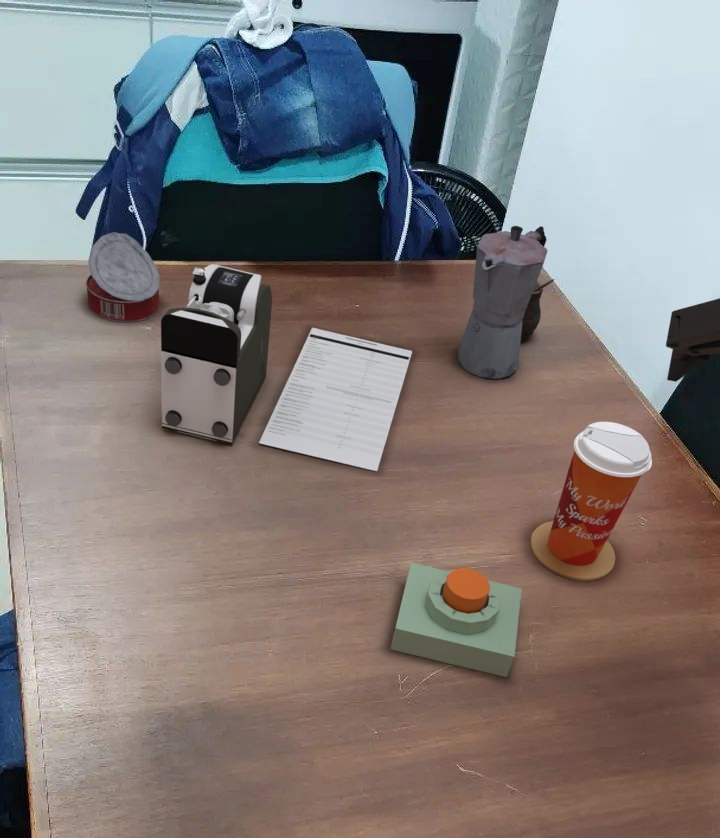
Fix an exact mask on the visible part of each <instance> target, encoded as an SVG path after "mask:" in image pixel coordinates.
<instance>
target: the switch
mask: <svg viewBox="0 0 720 838" xmlns="http://www.w3.org/2000/svg"><path fill="white" fill-rule="evenodd" d="M451 571H452V570H451ZM488 581H489V580H488V578H487V577H486V576H485V575H483V574H482V573H481V572H479V571H477V570H475V569H472V568H467V567H466V568H463V567H462V568H461V567H460V568H457V569H454V571H452V572H451V573H449V575H448V576H447V579H446V582H445V586H444V589H443V599H444V601H445V603H446V604H447V605H448V606H450V607H451V608H452V609H454V610H456V611H459V612H463V613H475V612H478V611H480V610H481V609H482V608H483V607H484V605H485V603H486V600H487V597H488V594H489V591H490V584H489V582H488Z"/></svg>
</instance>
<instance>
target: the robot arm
mask: <svg viewBox="0 0 720 838" xmlns="http://www.w3.org/2000/svg"><path fill="white" fill-rule="evenodd" d="M669 319H670V321H669V325H668V326H669V327H668V331H667V335H666V341H665V347H666V348H668V349H671V350H672V351H671V357H670V362H669V367H668V372H667V378H666V380H667V381H670V382H675V383H676V382H678V381H679V380H681V379H683V378H684V377H686V376H687V375H689V374H690V373H692V372H693V371H695V369H697V368H699V367H700V366H702V365H703V364H705V363H707V362H708V361H709V357H710V355H716V354H720V297H719V298H716V299H712V300H708V301H705V302H701V303H697V304H694V305H693V304H692V305H690V306H686V307H683V308H679V309H675V310H672V312H671V315H670V318H669Z"/></svg>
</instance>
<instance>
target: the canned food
mask: <svg viewBox="0 0 720 838" xmlns="http://www.w3.org/2000/svg"><path fill="white" fill-rule="evenodd" d="M87 263H88V267H89V271H90V275H89V276H88V277H87V278H86V281H85V286H86V295H87V296H86V297H87V306H88V308H89V310H90V311H91V312H92V313H93V314H95V315H96V316H98V317H100V318H102V319H105V320H107V321H111V322H112V321H113V322H116V323H134V322H141V321H145V320H147V319H150V318H151V317H154V315H156V314H157V313H158V311H159V310H160V282H161V281H160V280H161V276H160V274H159V271H158V267H157V265H156V263H155V262H154V261H153V259H152V257H151V256H150V254H149V253H148V252H147V251H146V250H145V249H144V247H142V245H141V244H140V243H139V241H137V240H136V239H135V238H133V237H132V236H130V235H129V234H127V233H119V232H116V231H112V232H109V233H107V234H104V235H101V236H100V237H99V238H98V240H96V242H95V243H94V244H93V245H92V247H91V248H90V252H89V256H88V261H87Z"/></svg>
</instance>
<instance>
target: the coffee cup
mask: <svg viewBox="0 0 720 838" xmlns="http://www.w3.org/2000/svg"><path fill="white" fill-rule="evenodd" d="M573 449H574V451H573V454H572V457H571V460H570V464H569V467H568V469H567V474H566V477H565V480H564V484H563V487H562V490H561V494H560V497H559V501H558V504H557V508H556V511H555V514H554V518H553V520H552V521H553V524H552V528H551V531H550V535H549V539H548V547H549V549H550V551H551V553H552V554H553V555H554V556H555V557H556V558H558V559H559V560H561V561H563V562H565V563H567V564H571V565H576V566H584V565H588V564H591V563H593V562H594V561H595V560H596V558H597V557H598V555H599V553H600V552H601V550H602V548H603V546H604V545H605V543H606V541H608V539H609V537H610V536H611V533H612V531H613V530H614V528H615V526H616V524H617V522H618V520H619V518H620V517H621V515H622V513H623V511H624V509H625V507H626V506H627V503H628V502H629V500H630V498H631V496H632V494H633V493H634V490H635V489H636V486H637V485H638V483H639V481H640V479H641V477H642V475H643V474H645V473H646V472H648V471H649V470H651V468H652V465H653V458H652V452H651V450H650V446H649V443H648V441H647V440H646V439H645V437H644V436H643V435H642V434H640V433H639V432H638V431H637V430H635V429H634V428H631V427H629V426H627V425H624V424H621V423H617V422H612V421H597V422H592V423H590V424H588V425H587V426H586V427H584V430H582V431H581V432H580V433H579V434H577V436H576V437H575V439H574V441H573Z"/></svg>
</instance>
